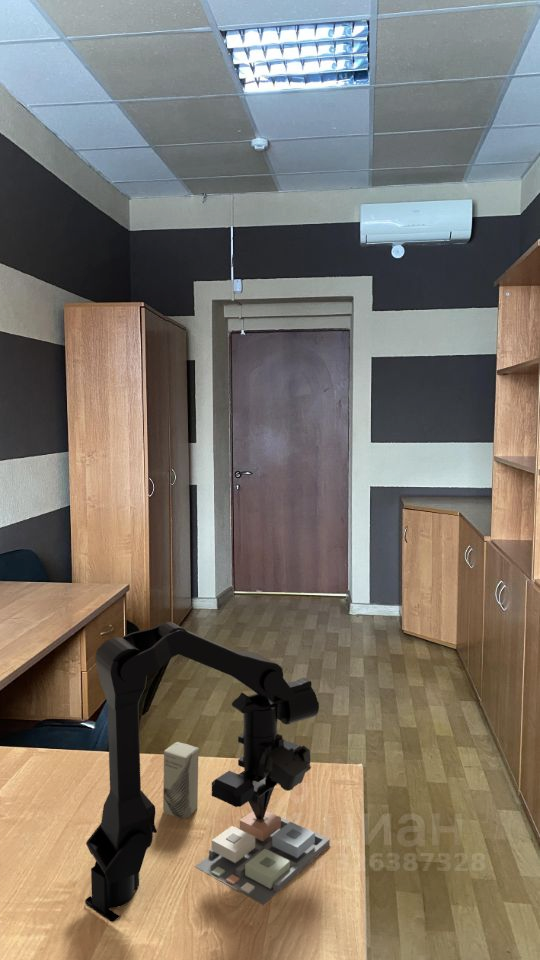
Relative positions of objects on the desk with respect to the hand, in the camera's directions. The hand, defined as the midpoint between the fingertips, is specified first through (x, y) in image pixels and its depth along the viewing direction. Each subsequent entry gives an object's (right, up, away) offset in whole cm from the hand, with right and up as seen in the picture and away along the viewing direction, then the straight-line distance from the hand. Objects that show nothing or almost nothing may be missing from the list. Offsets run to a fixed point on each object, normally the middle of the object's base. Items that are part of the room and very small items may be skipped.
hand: (260, 818), depth 118 cm
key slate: (+6, -2, -4) cm, 7 cm away
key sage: (+1, -4, -9) cm, 10 cm away
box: (-15, -4, +9) cm, 17 cm away
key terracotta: (0, -2, 0) cm, 2 cm away
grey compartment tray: (+1, -5, -4) cm, 7 cm away
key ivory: (-4, -2, -5) cm, 7 cm away
